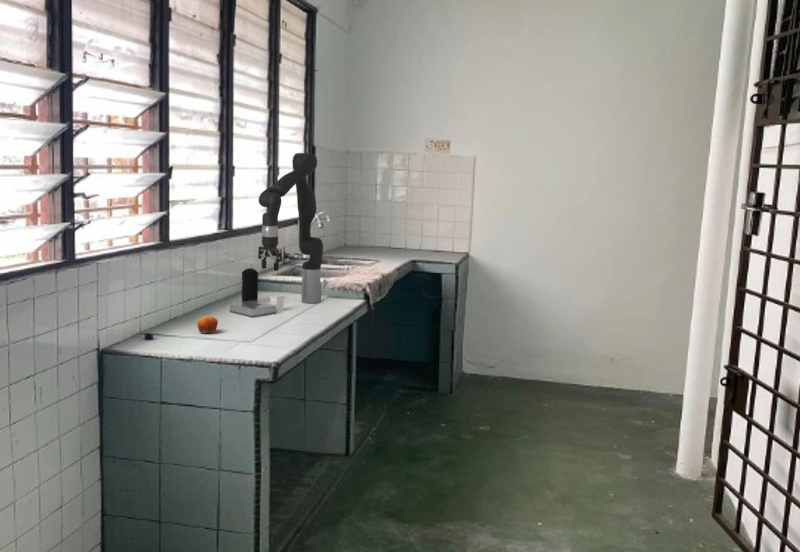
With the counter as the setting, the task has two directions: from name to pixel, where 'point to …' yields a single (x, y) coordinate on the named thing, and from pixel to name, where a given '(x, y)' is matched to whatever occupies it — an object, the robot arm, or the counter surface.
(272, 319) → the counter surface
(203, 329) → the fruit
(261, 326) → the counter surface
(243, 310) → the socket
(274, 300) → the white plain square block
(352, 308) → the counter surface
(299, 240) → the robot arm
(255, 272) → the aerosol can
